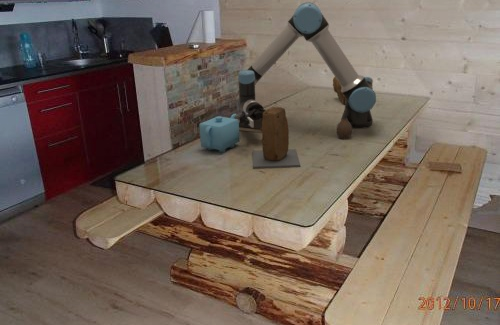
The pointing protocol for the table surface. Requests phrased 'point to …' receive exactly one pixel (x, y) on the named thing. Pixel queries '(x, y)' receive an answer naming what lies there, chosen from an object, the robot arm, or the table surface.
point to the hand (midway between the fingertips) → (268, 122)
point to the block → (275, 134)
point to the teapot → (219, 133)
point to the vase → (344, 129)
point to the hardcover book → (247, 127)
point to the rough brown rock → (338, 87)
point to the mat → (287, 161)
